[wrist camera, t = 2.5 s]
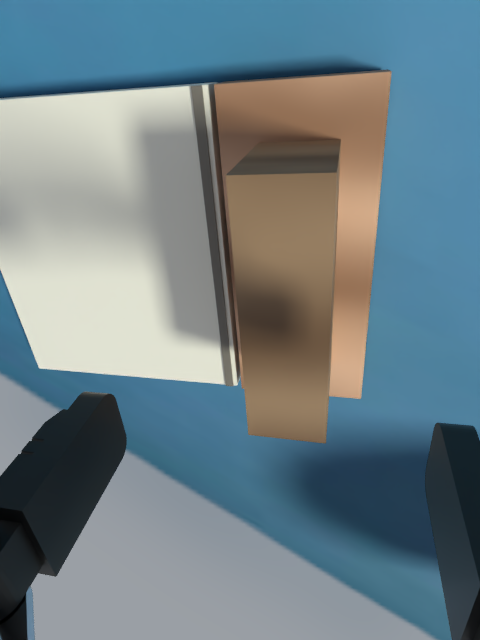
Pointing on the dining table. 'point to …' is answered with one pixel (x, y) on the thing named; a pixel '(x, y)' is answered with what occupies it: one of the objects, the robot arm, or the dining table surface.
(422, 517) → the dining table surface
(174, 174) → the ticket booklet
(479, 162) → the dining table surface
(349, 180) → the plate with raised bar
